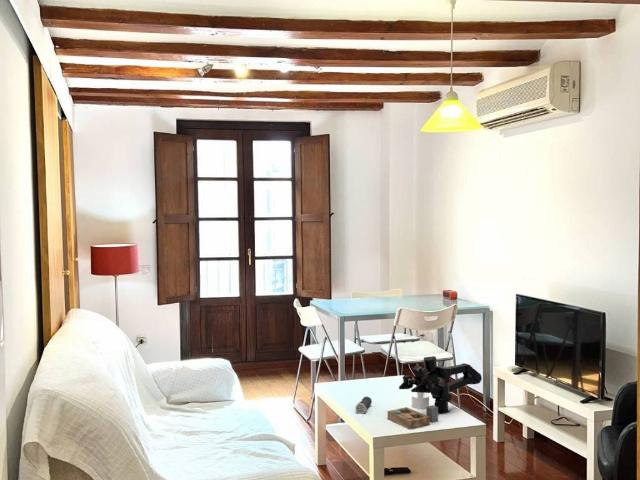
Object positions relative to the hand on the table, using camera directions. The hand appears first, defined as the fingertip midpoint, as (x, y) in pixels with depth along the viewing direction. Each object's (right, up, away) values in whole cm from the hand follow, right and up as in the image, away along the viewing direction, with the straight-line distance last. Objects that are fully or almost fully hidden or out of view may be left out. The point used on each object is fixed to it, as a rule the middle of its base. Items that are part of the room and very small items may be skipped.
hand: (405, 389), depth 321 cm
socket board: (+1, -16, -1) cm, 16 cm away
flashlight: (-19, -15, +19) cm, 31 cm away
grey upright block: (+13, -16, 0) cm, 21 cm away
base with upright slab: (+11, -15, +23) cm, 30 cm away
